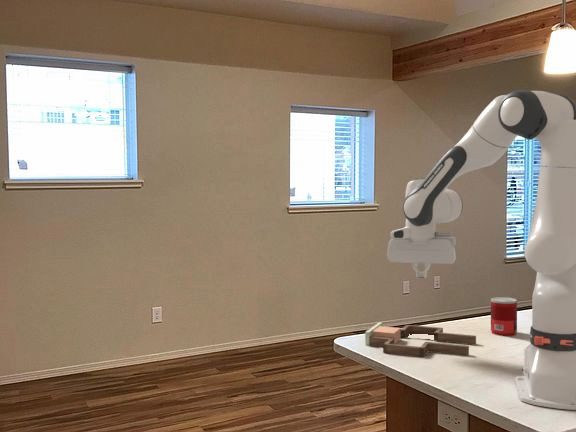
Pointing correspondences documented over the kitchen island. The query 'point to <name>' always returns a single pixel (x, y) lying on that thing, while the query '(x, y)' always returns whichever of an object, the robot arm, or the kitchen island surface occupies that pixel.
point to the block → (387, 333)
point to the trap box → (427, 346)
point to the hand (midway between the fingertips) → (421, 277)
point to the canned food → (504, 316)
